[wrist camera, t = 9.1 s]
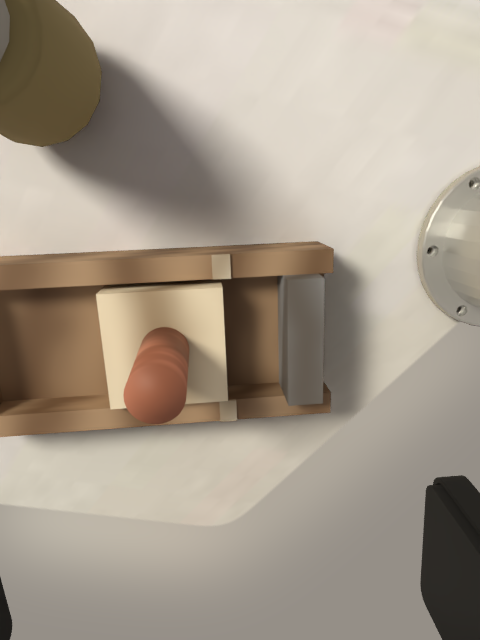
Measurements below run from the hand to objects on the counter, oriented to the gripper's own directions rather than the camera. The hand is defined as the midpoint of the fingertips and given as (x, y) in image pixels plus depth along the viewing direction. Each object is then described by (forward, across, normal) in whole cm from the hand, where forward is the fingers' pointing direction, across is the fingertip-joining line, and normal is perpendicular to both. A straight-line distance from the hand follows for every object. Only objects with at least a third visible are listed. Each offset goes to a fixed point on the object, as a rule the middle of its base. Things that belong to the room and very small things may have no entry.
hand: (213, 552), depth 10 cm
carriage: (+24, +4, +3) cm, 24 cm away
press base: (+26, +5, +3) cm, 27 cm away
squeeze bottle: (+26, +10, -14) cm, 31 cm away
